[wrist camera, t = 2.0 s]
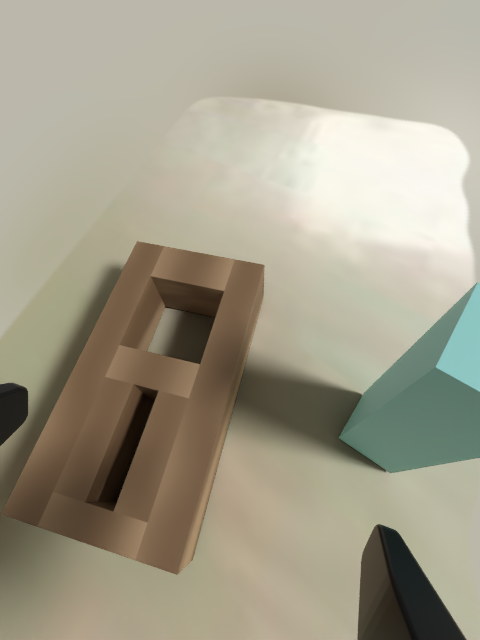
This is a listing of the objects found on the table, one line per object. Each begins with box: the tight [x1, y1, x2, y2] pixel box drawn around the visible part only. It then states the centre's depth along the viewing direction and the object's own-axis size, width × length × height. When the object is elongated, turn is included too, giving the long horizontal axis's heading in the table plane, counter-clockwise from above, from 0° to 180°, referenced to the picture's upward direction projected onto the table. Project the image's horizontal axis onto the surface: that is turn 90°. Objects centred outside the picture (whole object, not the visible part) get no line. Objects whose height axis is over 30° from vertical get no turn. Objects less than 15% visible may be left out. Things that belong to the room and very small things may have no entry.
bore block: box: [1, 241, 264, 574], centre depth 21 cm, size 9×17×4 cm, turn 165°
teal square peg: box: [339, 282, 480, 473], centre depth 15 cm, size 3×3×13 cm
